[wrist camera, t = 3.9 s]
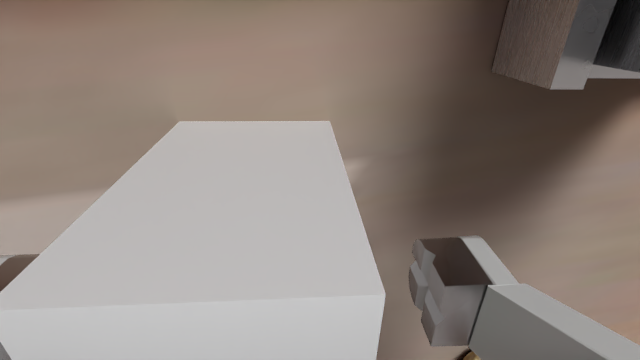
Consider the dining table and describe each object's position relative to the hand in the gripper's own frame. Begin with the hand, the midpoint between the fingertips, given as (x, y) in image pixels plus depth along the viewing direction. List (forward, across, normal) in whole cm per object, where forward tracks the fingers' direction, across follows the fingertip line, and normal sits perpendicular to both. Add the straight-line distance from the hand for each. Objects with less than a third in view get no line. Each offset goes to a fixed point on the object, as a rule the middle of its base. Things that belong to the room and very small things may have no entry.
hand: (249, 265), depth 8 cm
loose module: (+4, 0, -1) cm, 4 cm away
